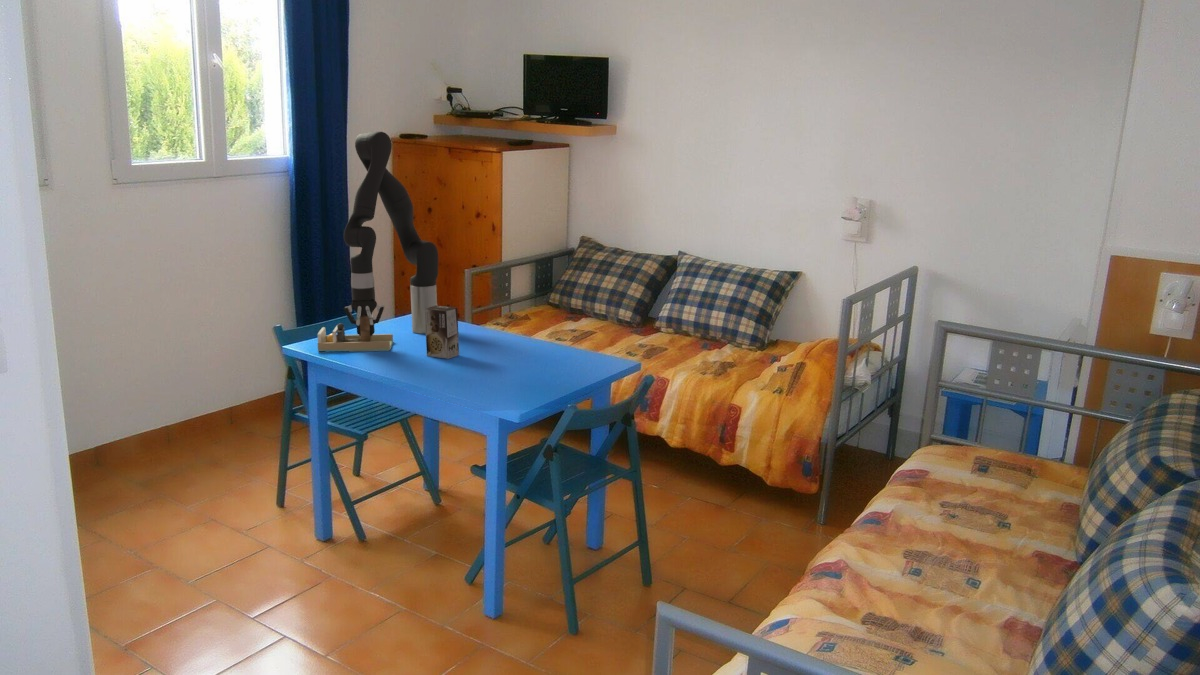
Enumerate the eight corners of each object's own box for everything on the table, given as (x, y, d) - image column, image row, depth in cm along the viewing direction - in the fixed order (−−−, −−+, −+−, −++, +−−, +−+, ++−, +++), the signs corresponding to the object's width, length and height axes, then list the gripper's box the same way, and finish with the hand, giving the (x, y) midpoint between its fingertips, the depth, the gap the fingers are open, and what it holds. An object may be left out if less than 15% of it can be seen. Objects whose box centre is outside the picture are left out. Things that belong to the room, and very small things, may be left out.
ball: (333, 329, 319) (325, 337, 319) (331, 332, 315) (323, 340, 315) (342, 337, 320) (334, 345, 320) (340, 340, 316) (332, 348, 316)
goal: (341, 341, 323) (340, 324, 322) (336, 348, 314) (335, 331, 312) (323, 341, 323) (322, 325, 321) (318, 348, 313) (317, 331, 312)
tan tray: (393, 342, 326) (392, 333, 325) (389, 350, 315) (389, 341, 314) (323, 343, 323) (323, 335, 323) (318, 352, 312) (317, 343, 312)
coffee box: (459, 355, 310) (458, 307, 306) (448, 359, 304) (446, 310, 301) (437, 351, 314) (435, 304, 310) (425, 356, 308) (423, 308, 305)
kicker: (371, 340, 322) (370, 313, 320) (369, 344, 317) (368, 317, 314) (339, 341, 321) (338, 314, 319) (336, 345, 315) (335, 317, 313)
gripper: (385, 283, 319) (388, 332, 323) (343, 283, 317) (346, 333, 322) (383, 287, 312) (385, 337, 316) (339, 288, 310) (343, 338, 314)
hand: (365, 335), depth 319 cm, fingers closed on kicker, 3 cm apart
